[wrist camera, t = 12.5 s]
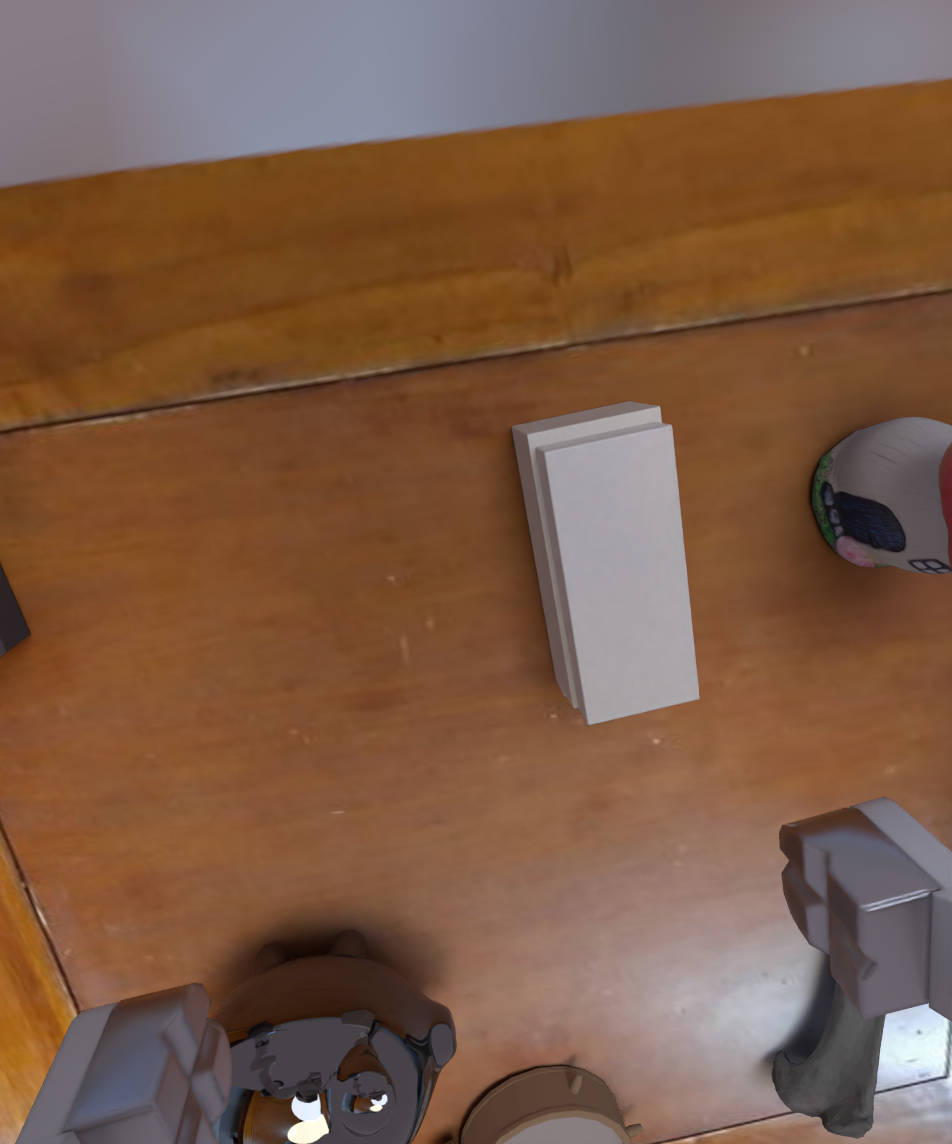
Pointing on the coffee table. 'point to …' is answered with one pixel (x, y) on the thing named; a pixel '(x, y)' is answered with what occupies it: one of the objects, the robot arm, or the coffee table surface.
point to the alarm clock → (548, 1111)
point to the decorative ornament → (889, 496)
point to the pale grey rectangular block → (621, 569)
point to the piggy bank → (330, 1050)
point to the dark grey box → (10, 618)
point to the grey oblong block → (525, 447)
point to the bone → (836, 1072)
